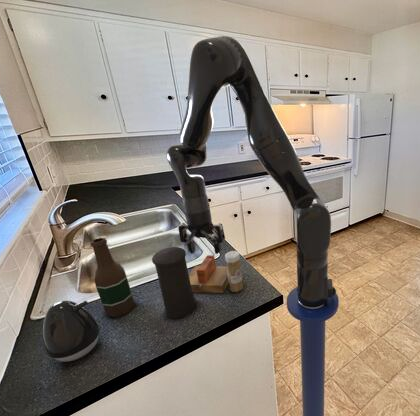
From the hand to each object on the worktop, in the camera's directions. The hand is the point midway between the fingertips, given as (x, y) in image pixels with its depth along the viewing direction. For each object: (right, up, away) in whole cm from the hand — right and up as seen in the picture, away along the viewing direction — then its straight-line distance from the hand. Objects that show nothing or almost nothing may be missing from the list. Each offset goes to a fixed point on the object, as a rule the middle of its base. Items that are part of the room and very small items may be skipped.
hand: (205, 252), depth 91 cm
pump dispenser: (-24, -22, -22) cm, 39 cm away
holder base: (0, -11, +4) cm, 12 cm away
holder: (0, -8, +3) cm, 9 cm away
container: (-4, -16, -8) cm, 19 cm away
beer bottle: (-23, -16, -8) cm, 29 cm away
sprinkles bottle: (+10, -12, +1) cm, 16 cm away
